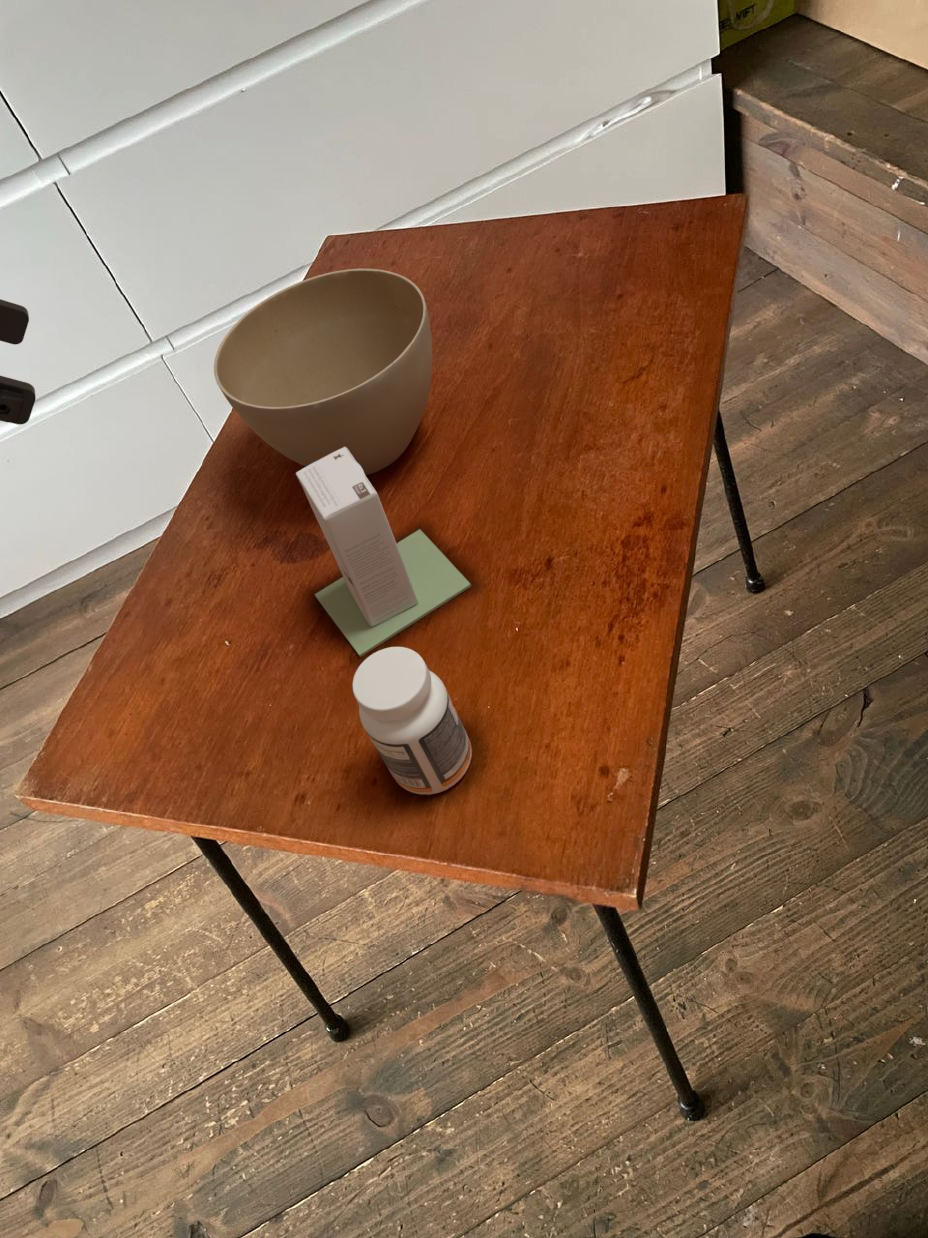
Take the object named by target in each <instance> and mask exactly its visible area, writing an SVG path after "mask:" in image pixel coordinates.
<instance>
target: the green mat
mask: <svg viewBox="0 0 928 1238" xmlns="http://www.w3.org/2000/svg"><path fill="white" fill-rule="evenodd" d="M396 544H397V546H398V549H399V552H400V554H401V557H402V560H403V562H404V565H405V568H406V570H407V573H408V575H409V578H410V581H411V583H412V586H413V589H414V591H415V594H416V597H417V600H418V603H417V604H415V605H413V606H412V607H410V608H408V609H407V610H405V611H403V612H401V613H399V614H397V615H395V616H394V617H392V618H390V619H388V620H386V621H384V622H381V623H379V624H377V625H375V626H370V625H369V623H368V622H367V620H366V619H365V617H364V616H363V614H362V612H361V611H360V609H359V607H358V605H357V604H356V602H355V600H354V598H353V596H352V594H351V592H350V590H349V588H348V586H347V584H346V582H345V580H344V578H343V576H342V577H340V578H339V579H337V580H336V581H334V582H332V583H330V584H329V585H327V586H326V587H324V588H323V589H321V590H319V591H317V592H316V593H314V597H315V598H316V599H317V601H318V602H319V604H320V606H322V607H323V609H324V610H325V612H326V613H327V614H328V616H329V618H330V619H331V620H332V621H333V622H334V624H335V625H336V626H337V629H339V630H340V632H341V633H342V634H343V636H344V638H346V641H348V643H349V644H350V646H351V647H352V648H353V649H354V651H355V652H356V653H357V655H358V656H359V658H362V657H364V656H366V654H368V653H370V652H371V651H372V650H374V649H376V648H378V647H379V646H380V645H383V644H384V643H385V642H387V641H388V640H390V639H391V638H393V637H394V636H396V635H398V634H399V633H401V632H402V631H404V630H405V629H407V628H409V627H410V626H412V625H414V624H415V623H417V622H418V621H420V620H421V619H423V618H424V617H426V616H427V615H430V613H432V612H434V611H436V610H437V609H438V608H440V607H442V606H443V605H445V604H446V603H448V602H449V601H451V600H452V599H454V598H455V597H458V596H459V595H460V594H462V593H463V592H465V591H467V590H468V589H470V588H471V587H472V584H471V582H469V580H468V579H467V578H466V577H465V576H464V575H463V574H462V572H460V571H459V569H458V568H456V567H455V565H454V564H453V563H452V561H450V560H449V559H448V558H447V556H446V555H445V554H444V553H443V552H442V551H441V550H440V549H439V548H438V547H437V546H436V544H434V543H433V542H432V540H430V538H429V537H428V536H427V535H426V534H425V533H424V532H423V530H422V529H420V528H419V529H418V530H416V531H414V532H412V533H411V534H409V535H408V536H406V537H404V538H403V539H401V540H400V541H398V542H396Z"/></svg>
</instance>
